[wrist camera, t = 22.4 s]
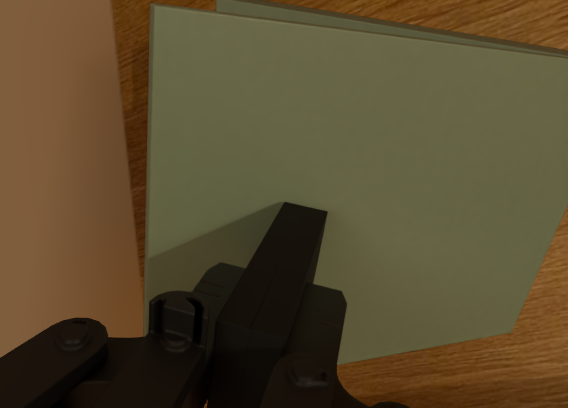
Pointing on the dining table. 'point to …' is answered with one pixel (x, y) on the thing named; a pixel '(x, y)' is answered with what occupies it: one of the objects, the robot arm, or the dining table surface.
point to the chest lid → (357, 167)
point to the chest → (369, 24)
